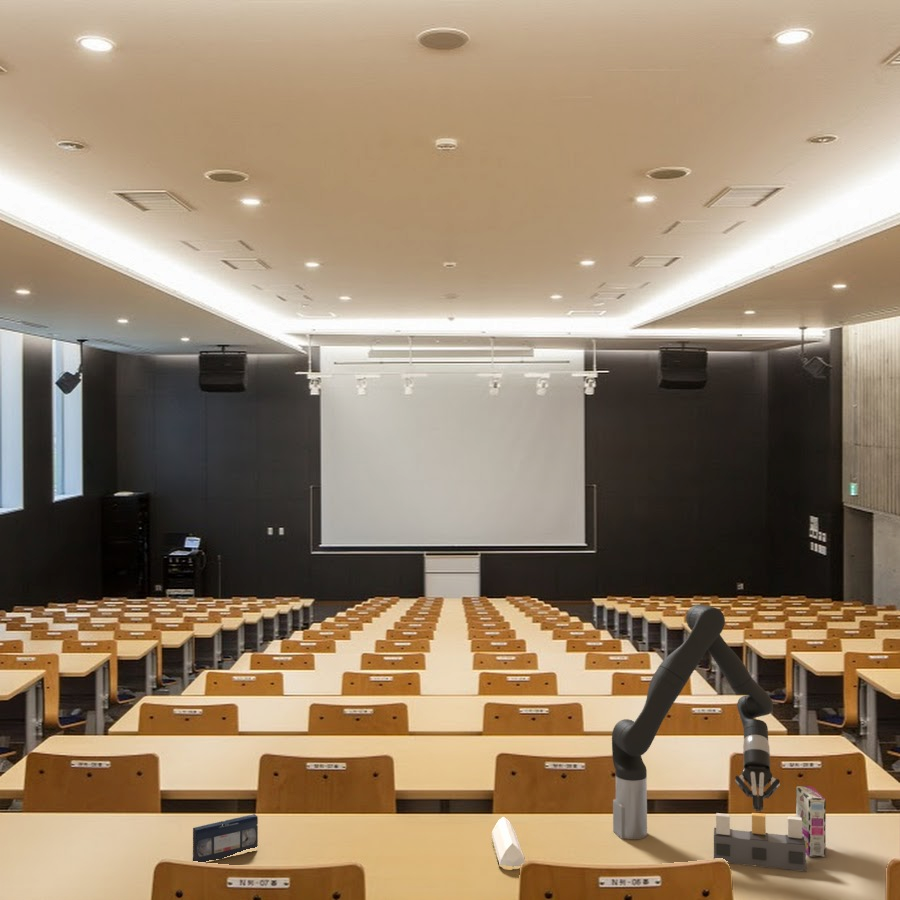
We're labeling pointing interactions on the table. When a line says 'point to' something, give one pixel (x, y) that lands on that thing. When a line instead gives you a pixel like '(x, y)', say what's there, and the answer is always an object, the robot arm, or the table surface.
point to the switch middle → (758, 823)
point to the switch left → (723, 824)
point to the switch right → (795, 827)
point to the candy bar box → (812, 819)
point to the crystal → (507, 844)
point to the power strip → (761, 849)
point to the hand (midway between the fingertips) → (758, 810)
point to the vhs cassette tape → (225, 838)
